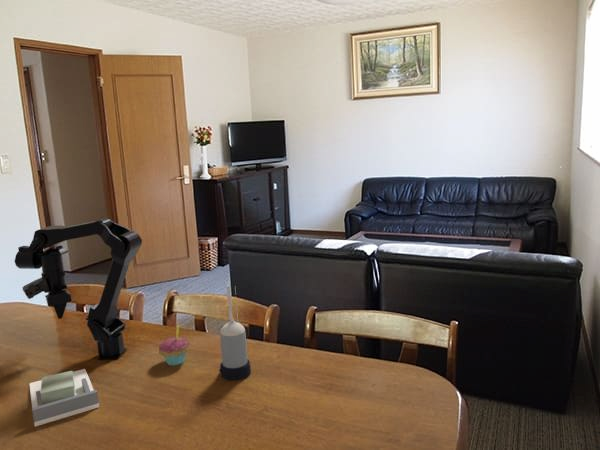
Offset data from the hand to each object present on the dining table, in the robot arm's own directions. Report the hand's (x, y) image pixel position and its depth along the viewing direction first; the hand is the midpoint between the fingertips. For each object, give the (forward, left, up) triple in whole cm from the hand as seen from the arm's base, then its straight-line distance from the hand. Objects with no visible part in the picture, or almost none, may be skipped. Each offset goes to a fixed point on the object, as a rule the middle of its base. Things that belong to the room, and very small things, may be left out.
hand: (60, 318), depth 151 cm
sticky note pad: (-15, +28, -10) cm, 34 cm away
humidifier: (-56, +14, -11) cm, 59 cm away
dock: (-13, +25, -12) cm, 30 cm away
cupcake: (-37, +7, -11) cm, 39 cm away
